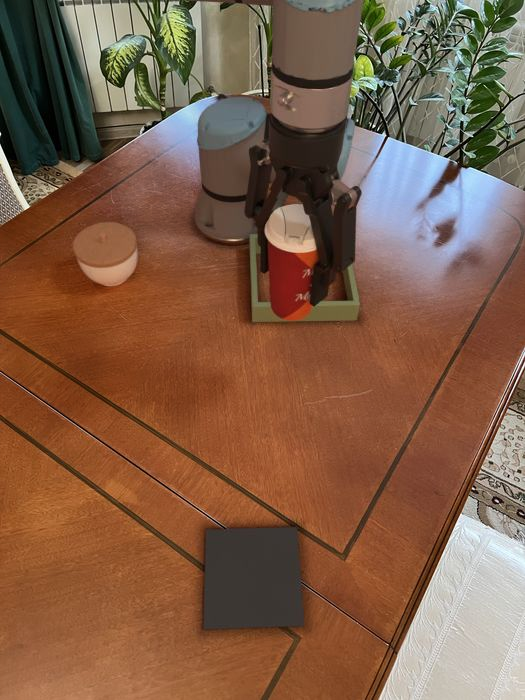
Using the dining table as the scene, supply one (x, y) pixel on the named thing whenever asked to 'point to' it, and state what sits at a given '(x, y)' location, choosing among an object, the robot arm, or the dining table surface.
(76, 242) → the trinket box
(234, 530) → the mat
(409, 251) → the dining table surface
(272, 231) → the paper cup
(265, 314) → the square frame
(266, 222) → the robot arm
